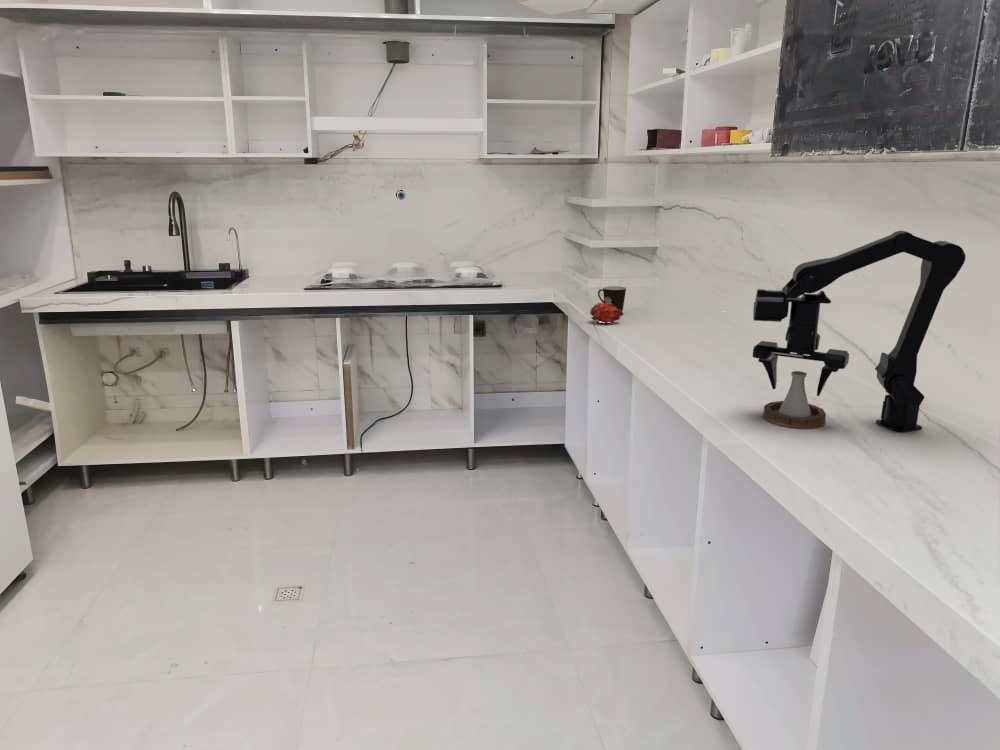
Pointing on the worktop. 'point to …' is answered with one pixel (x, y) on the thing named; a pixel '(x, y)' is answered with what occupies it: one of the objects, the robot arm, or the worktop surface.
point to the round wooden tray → (794, 422)
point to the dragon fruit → (605, 312)
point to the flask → (796, 398)
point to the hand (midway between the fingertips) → (795, 392)
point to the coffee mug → (614, 296)
